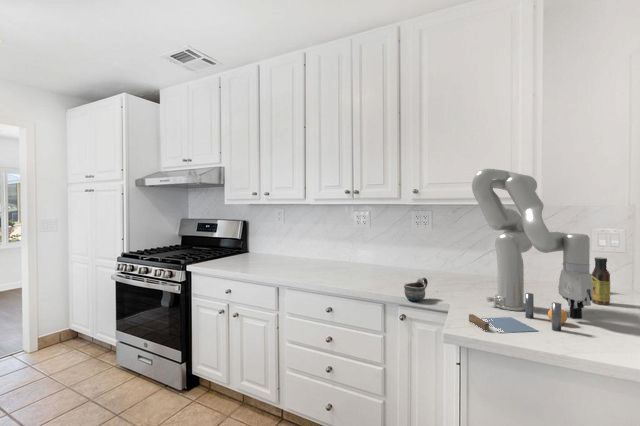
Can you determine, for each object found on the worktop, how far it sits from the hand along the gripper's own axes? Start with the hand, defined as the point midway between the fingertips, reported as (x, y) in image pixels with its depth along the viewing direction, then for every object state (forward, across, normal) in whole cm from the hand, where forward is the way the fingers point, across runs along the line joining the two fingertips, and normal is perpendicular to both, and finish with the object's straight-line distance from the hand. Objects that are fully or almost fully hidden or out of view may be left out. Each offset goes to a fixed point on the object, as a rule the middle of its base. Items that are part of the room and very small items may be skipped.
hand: (575, 318), depth 118 cm
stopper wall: (+2, 0, -37) cm, 37 cm away
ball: (-1, +1, -8) cm, 8 cm away
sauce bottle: (+2, -20, +30) cm, 36 cm away
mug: (+2, -35, -46) cm, 58 cm away
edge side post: (+1, +6, -13) cm, 15 cm away
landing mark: (+2, 0, -27) cm, 27 cm away
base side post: (+2, -6, -13) cm, 15 cm away
